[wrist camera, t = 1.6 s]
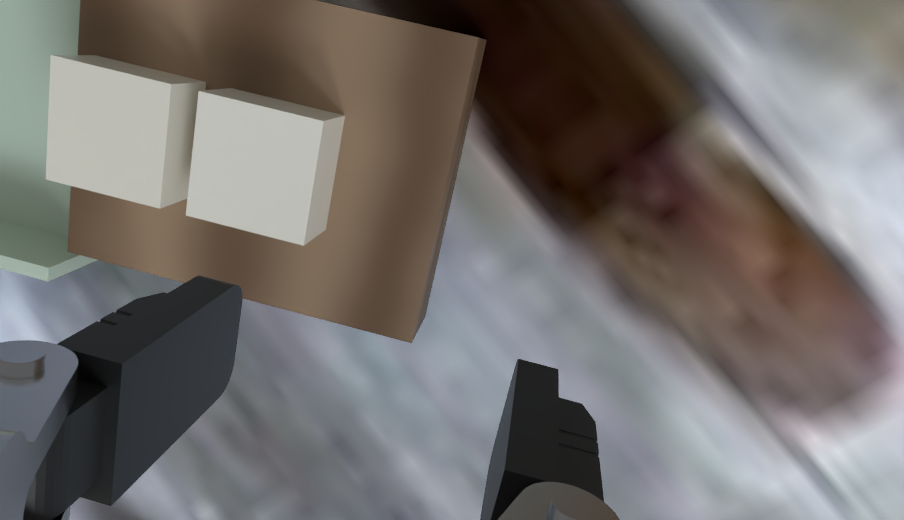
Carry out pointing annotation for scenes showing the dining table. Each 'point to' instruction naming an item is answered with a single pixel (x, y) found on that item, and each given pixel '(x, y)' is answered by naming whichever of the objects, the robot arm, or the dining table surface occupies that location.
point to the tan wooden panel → (359, 161)
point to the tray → (32, 138)
